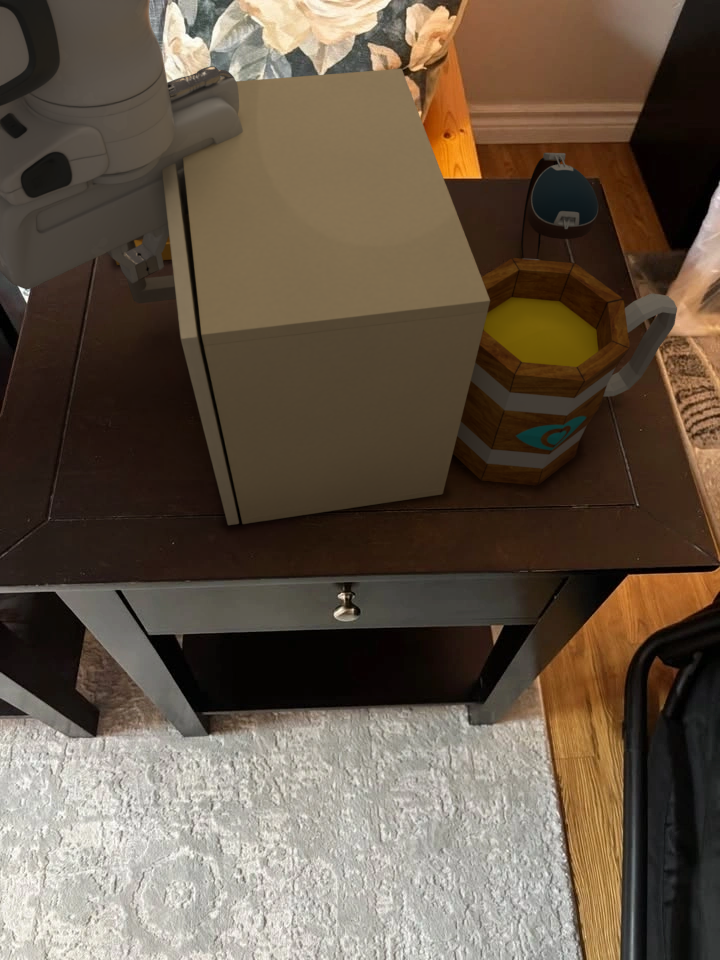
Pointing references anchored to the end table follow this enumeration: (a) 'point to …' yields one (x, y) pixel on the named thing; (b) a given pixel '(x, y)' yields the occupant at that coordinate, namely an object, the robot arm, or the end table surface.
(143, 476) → the end table surface
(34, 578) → the end table surface
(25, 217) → the robot arm
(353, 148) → the cupboard
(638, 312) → the mug
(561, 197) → the headphones
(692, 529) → the end table surface
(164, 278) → the door
